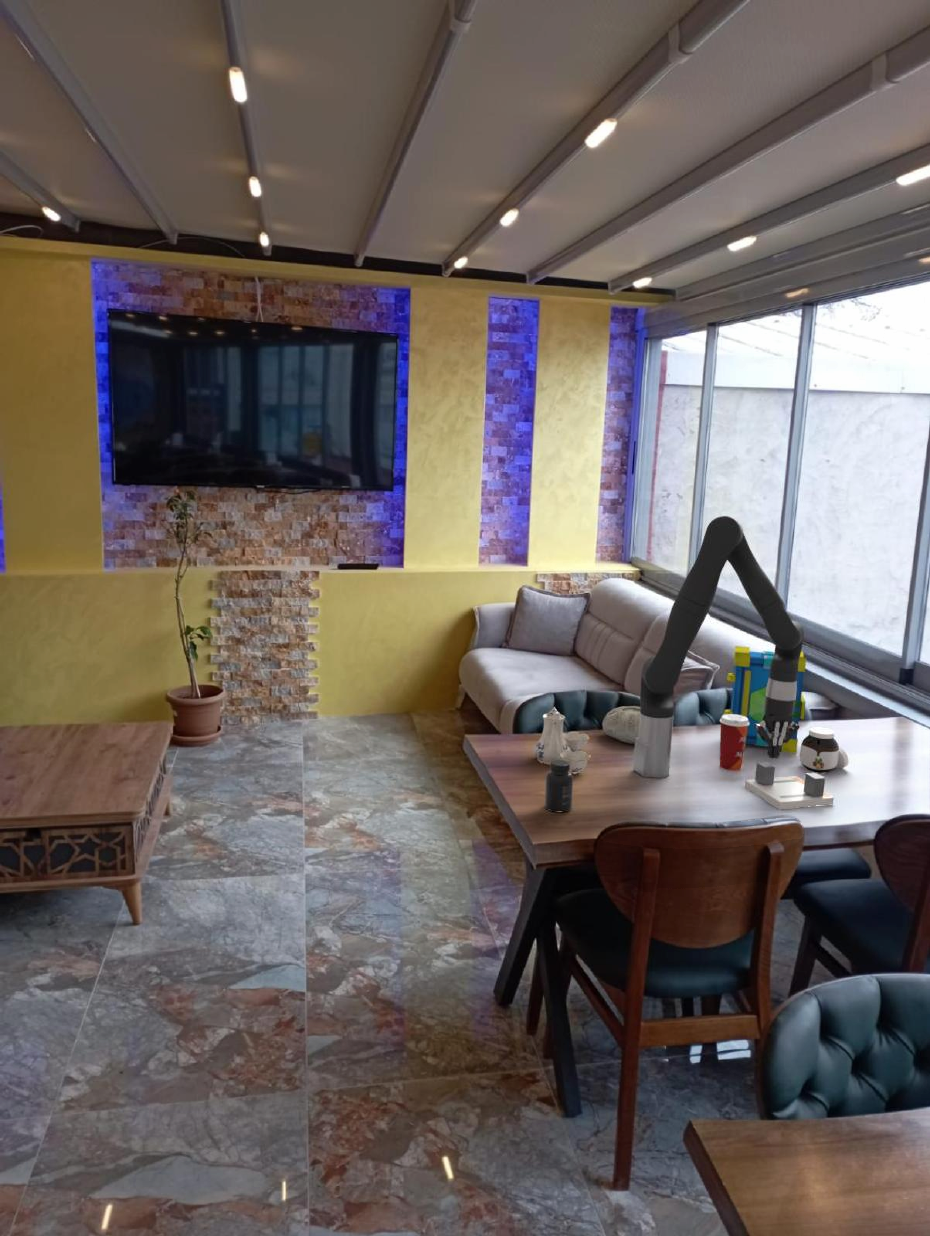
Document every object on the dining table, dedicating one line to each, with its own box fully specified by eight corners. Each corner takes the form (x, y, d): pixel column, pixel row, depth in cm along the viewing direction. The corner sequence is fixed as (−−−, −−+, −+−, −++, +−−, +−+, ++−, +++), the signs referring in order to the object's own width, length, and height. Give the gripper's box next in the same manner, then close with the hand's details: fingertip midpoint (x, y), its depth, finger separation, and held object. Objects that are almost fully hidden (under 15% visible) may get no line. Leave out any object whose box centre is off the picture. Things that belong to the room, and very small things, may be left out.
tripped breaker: (763, 785, 238) (765, 767, 237) (755, 780, 241) (756, 762, 240) (773, 784, 238) (775, 766, 237) (764, 779, 242) (766, 761, 241)
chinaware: (593, 785, 244) (603, 728, 241) (533, 777, 244) (542, 719, 241) (583, 752, 272) (592, 700, 269) (529, 744, 272) (538, 692, 269)
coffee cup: (746, 773, 253) (751, 722, 250) (716, 770, 254) (721, 720, 252) (743, 763, 261) (748, 714, 258) (714, 760, 262) (719, 712, 260)
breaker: (813, 797, 230) (815, 778, 229) (803, 791, 234) (805, 773, 233) (823, 796, 231) (825, 778, 230) (813, 790, 235) (815, 772, 234)
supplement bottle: (569, 803, 227) (572, 758, 225) (573, 813, 220) (576, 767, 218) (542, 802, 226) (545, 757, 224) (546, 813, 220) (548, 767, 218)
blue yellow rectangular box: (800, 755, 270) (810, 659, 264) (722, 747, 275) (730, 653, 270) (796, 741, 283) (805, 650, 278) (721, 733, 289) (729, 644, 284)
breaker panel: (779, 809, 227) (780, 802, 227) (744, 786, 242) (745, 779, 242) (832, 805, 231) (833, 797, 231) (795, 783, 246) (795, 776, 246)
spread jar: (795, 767, 259) (799, 729, 257) (809, 758, 267) (813, 721, 265) (837, 778, 251) (841, 739, 249) (850, 769, 259) (855, 730, 257)
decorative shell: (621, 751, 269) (623, 719, 267) (590, 733, 285) (592, 703, 283) (670, 745, 276) (672, 714, 274) (637, 728, 292) (639, 699, 290)
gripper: (767, 699, 230) (759, 763, 234) (811, 699, 234) (802, 761, 237) (750, 692, 238) (743, 753, 241) (793, 691, 241) (786, 752, 244)
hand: (773, 757), depth 239 cm, fingers closed
